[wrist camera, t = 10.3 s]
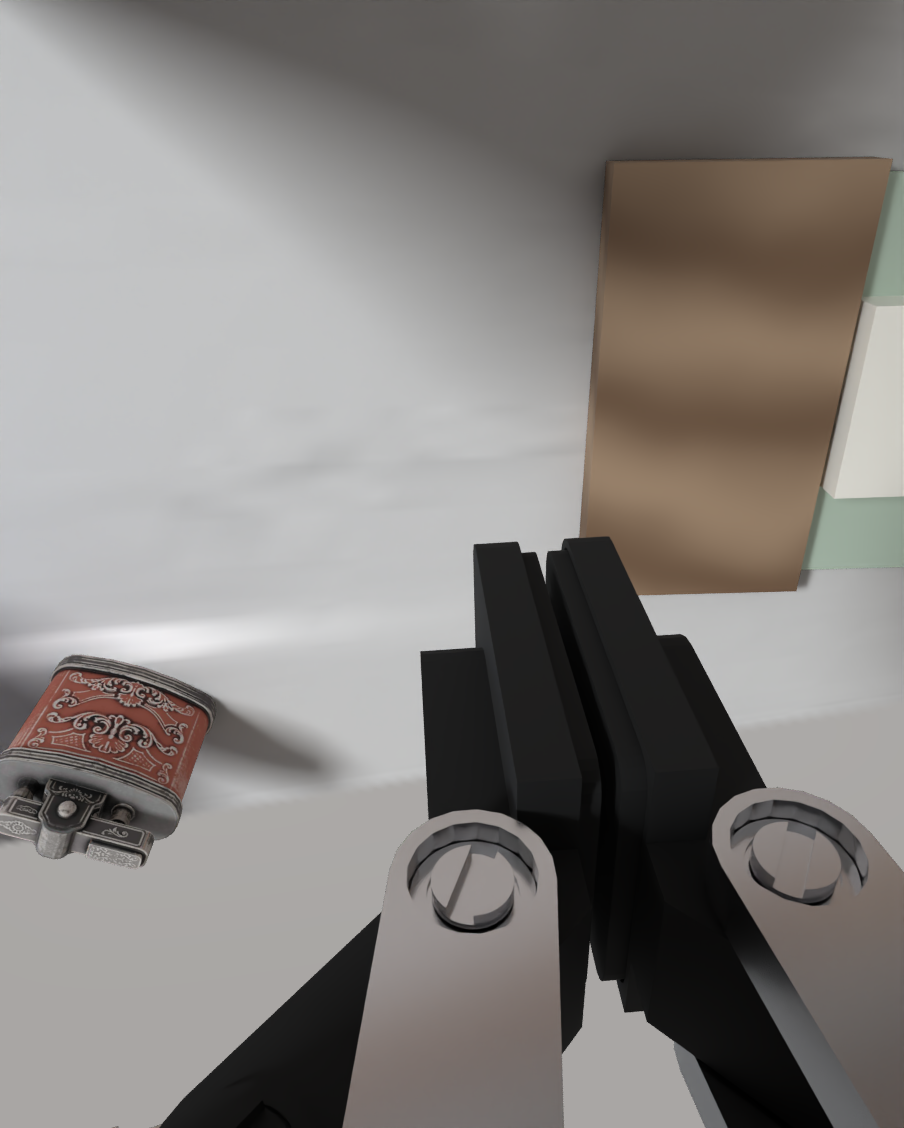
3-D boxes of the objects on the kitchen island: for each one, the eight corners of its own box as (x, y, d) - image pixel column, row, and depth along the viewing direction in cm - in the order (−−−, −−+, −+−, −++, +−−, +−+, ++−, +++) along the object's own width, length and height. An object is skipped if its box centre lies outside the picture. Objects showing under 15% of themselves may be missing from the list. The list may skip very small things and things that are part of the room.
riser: (606, 160, 30) (614, 163, 29) (872, 156, 31) (892, 158, 29) (576, 580, 39) (581, 596, 38) (783, 575, 39) (796, 591, 38)
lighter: (50, 693, 42) (-50, 849, 33) (63, 642, 40) (-38, 791, 31) (206, 739, 43) (151, 899, 34) (224, 692, 42) (170, 846, 33)
